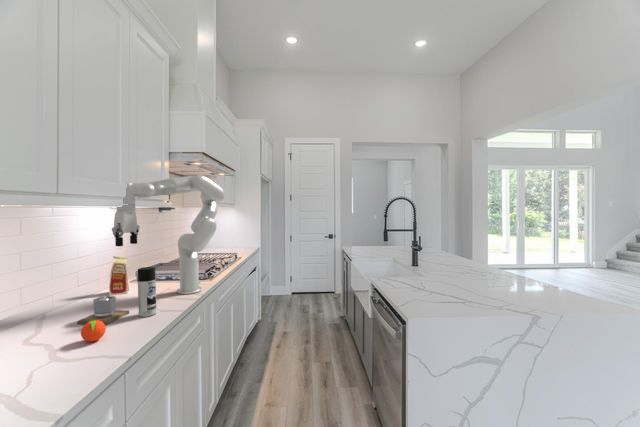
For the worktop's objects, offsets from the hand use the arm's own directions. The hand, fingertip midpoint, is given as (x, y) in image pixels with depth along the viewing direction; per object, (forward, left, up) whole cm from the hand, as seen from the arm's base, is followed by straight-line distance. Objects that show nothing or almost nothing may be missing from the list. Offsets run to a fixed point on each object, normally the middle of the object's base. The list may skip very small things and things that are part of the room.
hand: (126, 244), depth 144 cm
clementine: (+39, +16, -28) cm, 51 cm away
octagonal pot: (+18, +3, -25) cm, 31 cm away
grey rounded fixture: (+18, +3, -27) cm, 33 cm away
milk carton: (-20, -19, -28) cm, 40 cm away
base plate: (+18, +3, -28) cm, 34 cm away
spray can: (+13, +18, -28) cm, 36 cm away
